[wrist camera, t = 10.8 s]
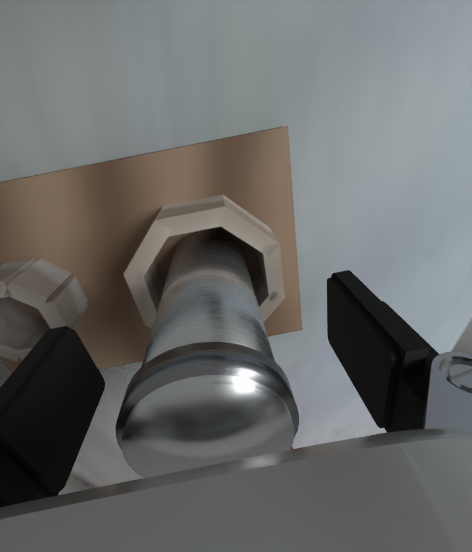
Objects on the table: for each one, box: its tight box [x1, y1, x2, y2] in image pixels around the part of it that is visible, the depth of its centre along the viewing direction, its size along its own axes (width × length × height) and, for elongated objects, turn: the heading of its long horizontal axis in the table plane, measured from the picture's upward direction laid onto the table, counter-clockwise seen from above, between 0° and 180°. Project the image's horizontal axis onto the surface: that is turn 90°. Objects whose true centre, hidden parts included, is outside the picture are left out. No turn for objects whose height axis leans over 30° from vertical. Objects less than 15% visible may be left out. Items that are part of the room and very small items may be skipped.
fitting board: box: [0, 126, 302, 373], centre depth 15 cm, size 19×12×4 cm, turn 100°
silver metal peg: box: [116, 229, 299, 478], centre depth 11 cm, size 4×4×10 cm
